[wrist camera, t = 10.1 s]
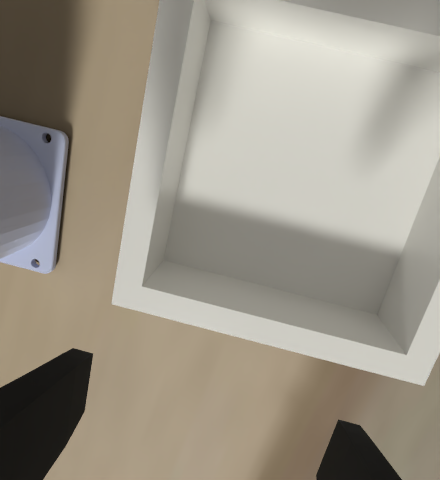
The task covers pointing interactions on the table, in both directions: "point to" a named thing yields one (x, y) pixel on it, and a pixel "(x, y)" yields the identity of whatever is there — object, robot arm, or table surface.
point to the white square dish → (292, 178)
